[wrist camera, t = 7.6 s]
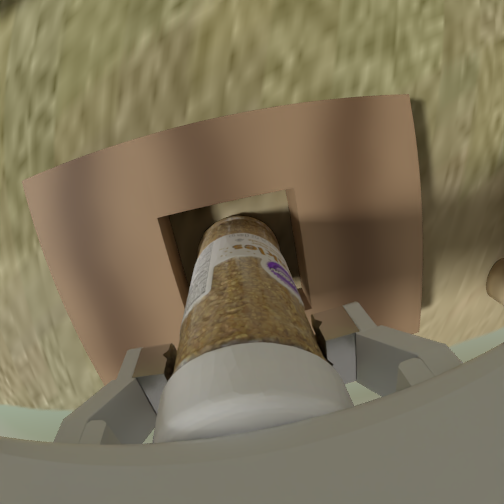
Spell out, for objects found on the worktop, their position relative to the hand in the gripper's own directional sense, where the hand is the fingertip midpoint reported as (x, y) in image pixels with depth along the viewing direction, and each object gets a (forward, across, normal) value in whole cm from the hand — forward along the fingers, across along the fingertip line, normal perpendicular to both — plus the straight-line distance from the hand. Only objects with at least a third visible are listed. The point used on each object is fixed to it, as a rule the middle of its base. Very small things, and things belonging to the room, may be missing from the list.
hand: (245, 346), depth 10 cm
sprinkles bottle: (+9, 0, 0) cm, 9 cm away
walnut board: (+9, 0, 0) cm, 9 cm away
